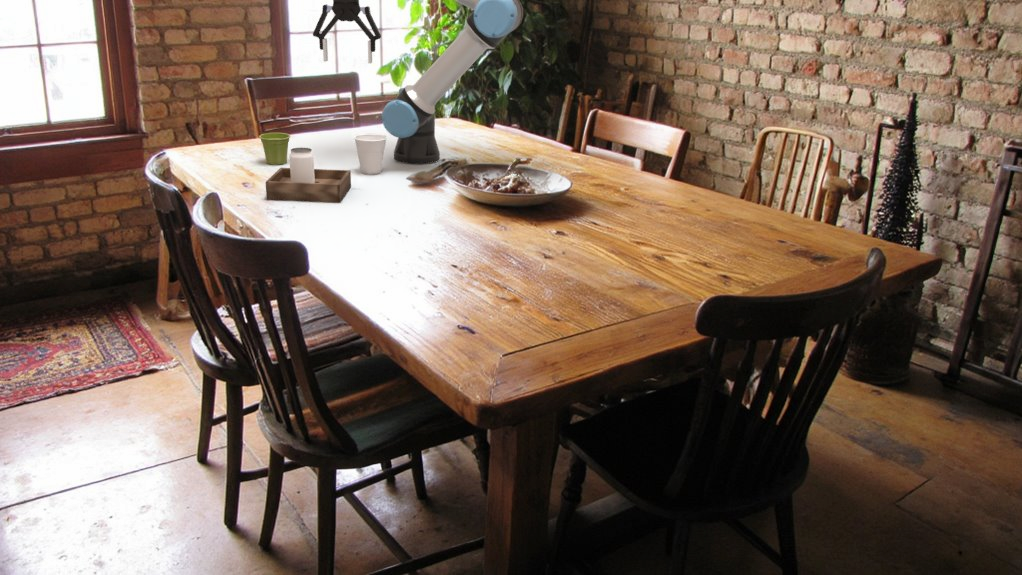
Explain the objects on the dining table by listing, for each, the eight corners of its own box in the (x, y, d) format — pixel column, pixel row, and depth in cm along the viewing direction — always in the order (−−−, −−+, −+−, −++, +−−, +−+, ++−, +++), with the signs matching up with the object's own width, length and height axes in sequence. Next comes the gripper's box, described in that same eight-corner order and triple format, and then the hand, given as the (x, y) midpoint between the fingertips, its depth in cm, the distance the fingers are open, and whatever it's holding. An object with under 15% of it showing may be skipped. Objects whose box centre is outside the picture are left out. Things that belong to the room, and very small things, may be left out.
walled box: (351, 187, 244) (350, 170, 242) (340, 202, 229) (339, 184, 227) (281, 184, 244) (280, 167, 242) (266, 199, 229) (265, 181, 227)
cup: (390, 169, 265) (390, 134, 261) (383, 177, 256) (382, 141, 252) (359, 167, 266) (358, 132, 262) (351, 175, 257) (349, 139, 252)
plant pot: (287, 167, 263) (285, 139, 259) (257, 165, 263) (255, 138, 259) (295, 160, 271) (293, 133, 268) (266, 158, 271) (264, 132, 268)
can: (309, 196, 233) (307, 153, 228) (287, 193, 234) (284, 151, 230) (318, 190, 239) (317, 148, 234) (297, 188, 240) (295, 146, 235)
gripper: (389, -11, 254) (390, 62, 262) (306, -14, 254) (309, 58, 261) (386, -10, 247) (387, 65, 255) (300, -13, 247) (304, 61, 254)
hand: (348, 62), depth 258 cm, fingers open, 13 cm apart
